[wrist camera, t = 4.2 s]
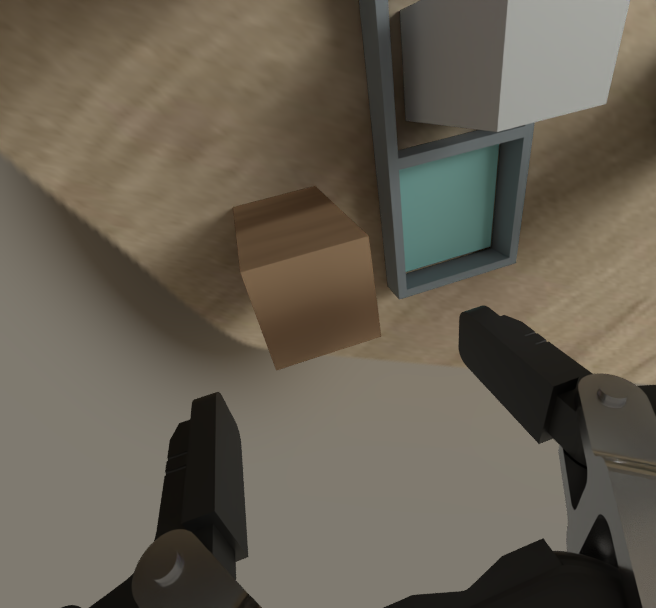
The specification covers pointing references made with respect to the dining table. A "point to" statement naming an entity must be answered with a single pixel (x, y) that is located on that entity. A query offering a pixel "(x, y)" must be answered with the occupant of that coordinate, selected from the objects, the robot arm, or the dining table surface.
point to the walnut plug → (306, 275)
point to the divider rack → (475, 120)
